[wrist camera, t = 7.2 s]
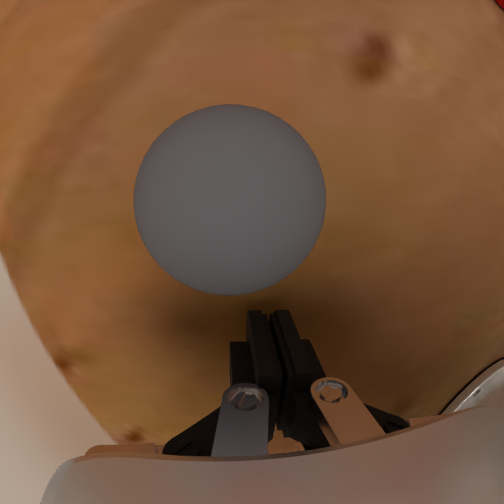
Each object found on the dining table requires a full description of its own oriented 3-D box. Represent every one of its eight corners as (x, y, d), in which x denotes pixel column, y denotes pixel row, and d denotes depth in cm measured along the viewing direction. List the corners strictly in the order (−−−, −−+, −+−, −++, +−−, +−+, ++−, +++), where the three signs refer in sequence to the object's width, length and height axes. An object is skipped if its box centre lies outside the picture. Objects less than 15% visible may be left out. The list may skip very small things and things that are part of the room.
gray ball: (390, 211, 5) (350, 154, 10) (136, 66, 4) (218, 77, 9) (248, 365, 8) (272, 262, 13) (80, 266, 7) (160, 197, 12)
